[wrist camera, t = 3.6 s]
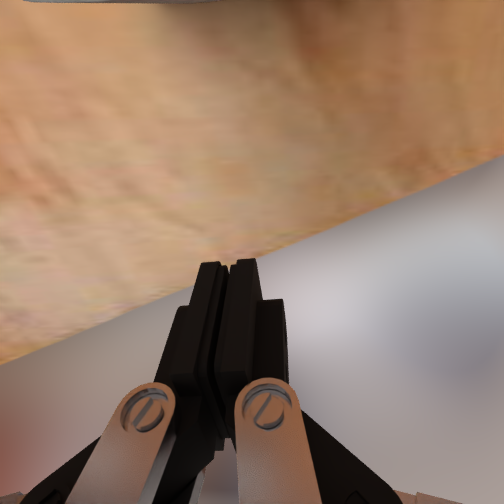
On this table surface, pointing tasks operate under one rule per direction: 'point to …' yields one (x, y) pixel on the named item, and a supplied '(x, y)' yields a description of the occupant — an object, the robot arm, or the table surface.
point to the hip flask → (122, 1)
